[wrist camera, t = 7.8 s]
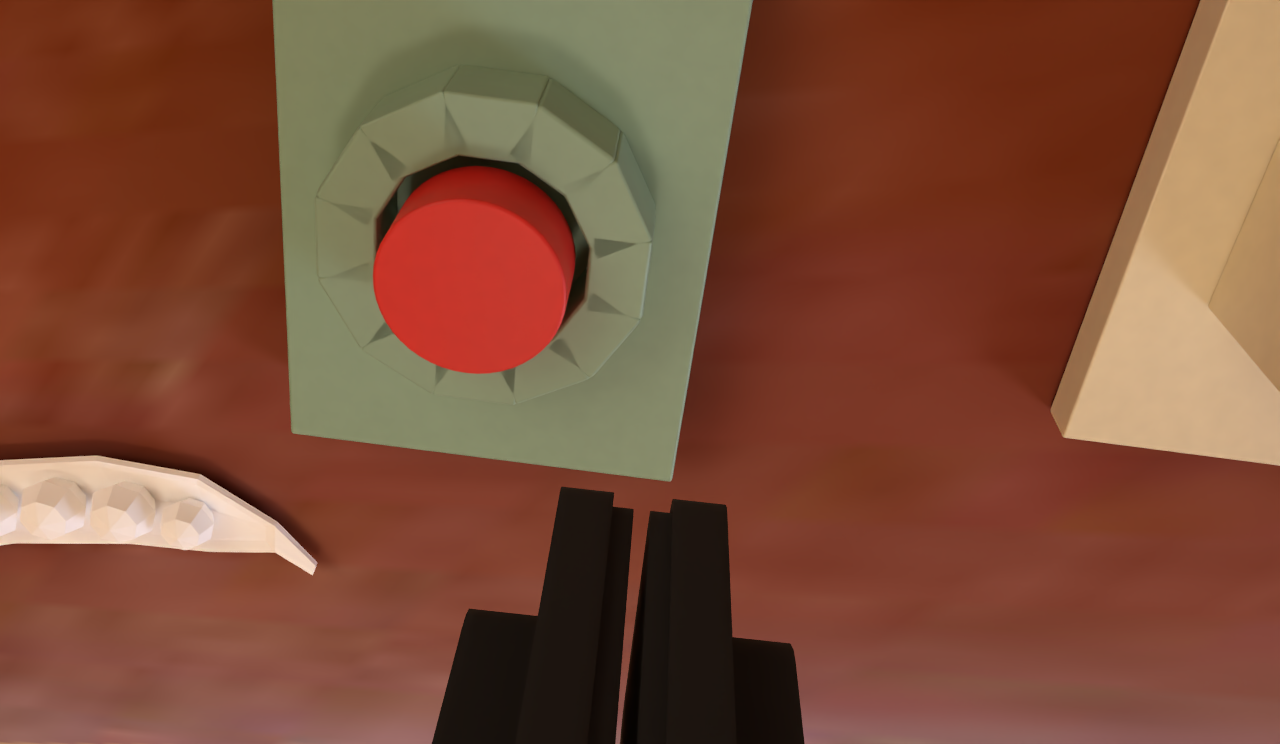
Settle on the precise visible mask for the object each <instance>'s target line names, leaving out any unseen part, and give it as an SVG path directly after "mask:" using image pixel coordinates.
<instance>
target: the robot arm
mask: <svg viewBox="0 0 1280 744" xmlns="http://www.w3.org/2000/svg"><path fill="white" fill-rule="evenodd" d="M613 498H614V493H613V492H604V491H595V490H586V489H577V488H568V487H561V490H560V495H559V501H558V507H557V512H556V518H555V523H554V529H553V535H552V540H551V546H550V551H549V557H548V563H547V568H546V574H545V580H544V585H543V591H542V596H541V602H540V608H539V613H538V616H531V615H522V614H513V613H504V612H495V611H485V610H476V609H469V610H468V612H467V614H466V617H465V620H464V623H463V627H462V630H461V634H460V638H459V642H458V646H457V650H456V653H455V657H454V661H453V665H452V669H451V673H450V676H449V680H448V684H447V688H446V692H445V696H444V699H443V703H442V707H441V711H440V715H439V719H438V722H437V726H436V730H435V734H434V738H433V742H432V744H615V739H616V727H617V714H618V701H619V689H620V676H621V663H622V651H623V638H624V625H625V613H626V600H627V587H628V575H629V562H630V549H631V537H632V524H633V509H627V508H618V507H613ZM620 744H804V736H803V727H802V717H801V708H800V699H799V690H798V681H797V671H796V662H795V656H794V651H793V648H792V646H791V644H789V643H780V642H771V641H761V640H752V639H743V638H734V637H732V618H731V594H730V570H729V546H728V522H727V507H726V505H722V504H713V503H704V502H695V501H686V500H677V499H673V500H672V504H671V510H670V513H664V512H655V511H650V516H649V523H648V530H647V537H646V545H645V552H644V560H643V567H642V575H641V582H640V589H639V597H638V604H637V612H636V619H635V626H634V634H633V641H632V649H631V656H630V664H629V671H628V678H627V686H626V693H625V701H624V709H623V718H622V728H621V740H620Z"/></svg>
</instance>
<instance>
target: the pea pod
mask: <svg viewBox="0 0 1280 744" xmlns="http://www.w3.org/2000/svg"><path fill="white" fill-rule="evenodd" d="M14 543H57V544H137V545H147V546H157V547H167V548H177V549H182V550H197V551H207V552H275V553H277V554H278V555H280V556H282V557H283V558H285V559H287V560H288V561H290V562H292V563H293V564H295V565H297V566H298V567H300V568H302V569H303V570H305V571H306V572H308V573H310V574H311V575H313V573H314V571H315V568H316V565H317V562H316V561H315V560H314V558H313V557H312V556H311V555H310V554H309V553H308V552H307V551H306V550H305V549H304V548H303V547H302V546H301V545H300V544H299V543H298V542H297V541H296V540H295V539H294V538H293V537H292V536H291V535H290V534H289V533H288V532H287V531H286V530H285V529H284V528H283V527H282V526H281V525H280V524H279V523H278V522H277V521H275V520H274V519H272V518H270V517H269V516H267V515H266V514H264V513H262V512H261V511H259V510H258V509H256V508H254V507H253V506H251V505H249V504H248V503H246V502H245V501H243V500H241V499H240V498H238V497H237V496H235V495H233V494H232V493H230V492H228V491H227V490H225V489H224V488H222V487H220V486H219V485H217V484H216V483H214V482H212V481H211V480H209V479H207V478H206V477H204V476H203V475H201V474H197V473H192V472H186V471H180V470H175V469H169V468H164V467H158V466H153V465H147V464H142V463H136V462H130V461H125V460H119V459H114V458H108V457H103V456H97V455H96V456H76V457H56V458H35V459H15V460H0V545H7V544H14Z"/></svg>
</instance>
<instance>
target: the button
mask: <svg viewBox="0 0 1280 744" xmlns="http://www.w3.org/2000/svg"><path fill="white" fill-rule="evenodd" d="M575 257H576V254H575V245H574V240H573V236H572V232H571V230H570V227H569V225H568V222H567V220H566V219H565V217H564V215H563V213H562V212H561V210H560V209H559V208H558V206H557V205H556V204H555V202H554V201H553V200H552V199H551V198H550V197H549V196H548V195H547V194H546V193H545V192H544V191H542V190H541V189H540V188H539V187H538V186H536V185H535V184H533V183H532V182H530V181H528V180H527V179H525V178H523V177H521V176H519V175H517V174H514V173H512V172H509V171H506V170H502V169H498V168H493V167H485V166H466V167H460V168H454V169H451V170H447V171H444V172H441V173H439V174H437V175H435V176H433V177H431V178H430V179H428V180H427V181H425V182H424V183H422V184H421V185H420V186H419V187H418V188H417V189H415V190H414V191H413V192H412V194H411V195H410V196H409V197H408V199H407V200H406V201H405V203H404V205H403V206H402V208H401V210H400V211H399V213H398V215H397V216H396V218H395V220H394V221H393V223H392V225H391V226H390V228H389V230H388V231H387V233H386V235H385V236H384V238H383V240H382V241H381V243H380V246H379V248H378V251H377V253H376V257H375V261H374V266H373V288H374V293H375V297H376V301H377V304H378V306H379V309H380V312H381V314H382V316H383V318H384V320H385V322H386V323H387V325H388V326H389V327H390V329H391V330H392V332H393V333H394V334H395V335H396V336H397V338H398V339H399V340H400V341H401V342H402V343H403V344H404V345H406V346H407V347H408V348H409V349H410V350H411V351H413V352H414V353H416V354H417V355H418V356H420V357H422V358H423V359H425V360H427V361H429V362H431V363H433V364H435V365H438V366H440V367H443V368H446V369H449V370H453V371H458V372H463V373H473V374H485V373H495V372H501V371H504V370H508V369H511V368H514V367H516V366H519V365H521V364H523V363H525V362H527V361H528V360H530V359H532V358H533V357H535V356H536V355H537V354H539V353H540V352H541V351H542V350H543V349H544V348H545V347H546V346H547V345H548V344H549V343H550V342H551V340H552V339H553V338H554V336H555V335H556V333H557V331H558V329H559V327H560V325H561V323H562V320H563V317H564V314H565V310H566V306H567V302H568V297H569V293H570V289H571V284H572V280H573V275H574V270H575Z"/></svg>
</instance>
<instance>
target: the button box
mask: <svg viewBox="0 0 1280 744" xmlns="http://www.w3.org/2000/svg"><path fill="white" fill-rule="evenodd" d="M752 2H753V0H273V21H274V44H275V67H276V90H277V113H278V136H279V159H280V181H281V204H282V227H283V250H284V273H285V296H286V319H287V342H288V364H289V387H290V410H291V431H292V433H294V434H302V435H310V436H317V437H325V438H333V439H341V440H349V441H357V442H364V443H372V444H380V445H388V446H396V447H403V448H411V449H419V450H427V451H435V452H443V453H450V454H458V455H466V456H474V457H482V458H490V459H497V460H505V461H513V462H521V463H529V464H536V465H544V466H552V467H560V468H568V469H576V470H583V471H591V472H599V473H607V474H615V475H622V476H630V477H638V478H646V479H654V480H662V481H671V480H672V477H673V471H674V465H675V459H676V453H677V447H678V441H679V435H680V430H681V424H682V418H683V412H684V406H685V400H686V394H687V388H688V382H689V376H690V370H691V364H692V358H693V352H694V346H695V340H696V335H697V329H698V323H699V317H700V311H701V305H702V299H703V293H704V287H705V281H706V275H707V269H708V263H709V257H710V251H711V246H712V240H713V234H714V228H715V222H716V216H717V210H718V204H719V198H720V192H721V186H722V180H723V174H724V168H725V162H726V156H727V151H728V145H729V139H730V133H731V127H732V121H733V115H734V109H735V103H736V97H737V91H738V85H739V79H740V73H741V67H742V61H743V56H744V50H745V44H746V38H747V32H748V26H749V20H750V14H751V8H752ZM466 166H485V167H493V168H498V169H502V170H506V171H509V172H512V173H514V174H517V175H519V176H521V177H523V178H525V179H527V180H528V181H530V182H532V183H533V184H535V185H536V186H538V187H539V188H540V189H541V190H542V191H544V192H545V193H546V194H547V195H548V196H549V197H550V198H551V199H552V200H553V201H554V202H555V204H556V205H557V206H558V208H559V209H560V210H561V212H562V213H563V215H564V217H565V219H566V220H567V222H568V225H569V227H570V230H571V232H572V236H573V240H574V245H575V254H576V257H575V270H574V275H573V280H572V284H571V289H570V293H569V297H568V302H567V306H566V310H565V314H564V317H563V320H562V323H561V325H560V327H559V329H558V331H557V333H556V335H555V336H554V338H553V339H552V340H551V342H550V343H549V344H548V345H547V346H546V347H545V348H544V349H543V350H542V351H541V352H540V353H539V354H537V355H536V356H535V357H533V358H532V359H530V360H528V361H527V362H525V363H523V364H521V365H519V366H516V367H514V368H511V369H508V370H504V371H501V372H495V373H485V374H473V373H463V372H458V371H453V370H449V369H446V368H443V367H440V366H438V365H435V364H433V363H431V362H429V361H427V360H425V359H423V358H422V357H420V356H418V355H417V354H416V353H414V352H413V351H411V350H410V349H409V348H408V347H407V346H406V345H404V344H403V343H402V342H401V341H400V340H399V339H398V338H397V336H396V335H395V334H394V333H393V332H392V330H391V329H390V327H389V326H388V325H387V323H386V322H385V320H384V318H383V316H382V314H381V312H380V309H379V306H378V304H377V301H376V297H375V293H374V288H373V266H374V261H375V257H376V253H377V251H378V248H379V246H380V243H381V241H382V240H383V238H384V236H385V235H386V233H387V231H388V230H389V228H390V226H391V225H392V223H393V221H394V220H395V218H396V216H397V215H398V213H399V211H400V210H401V208H402V206H403V205H404V203H405V201H406V200H407V199H408V197H409V196H410V195H411V194H412V192H413V191H414V190H415V189H417V188H418V187H419V186H420V185H421V184H422V183H424V182H425V181H427V180H428V179H430V178H431V177H433V176H435V175H437V174H439V173H441V172H444V171H447V170H451V169H454V168H460V167H466Z"/></svg>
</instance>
